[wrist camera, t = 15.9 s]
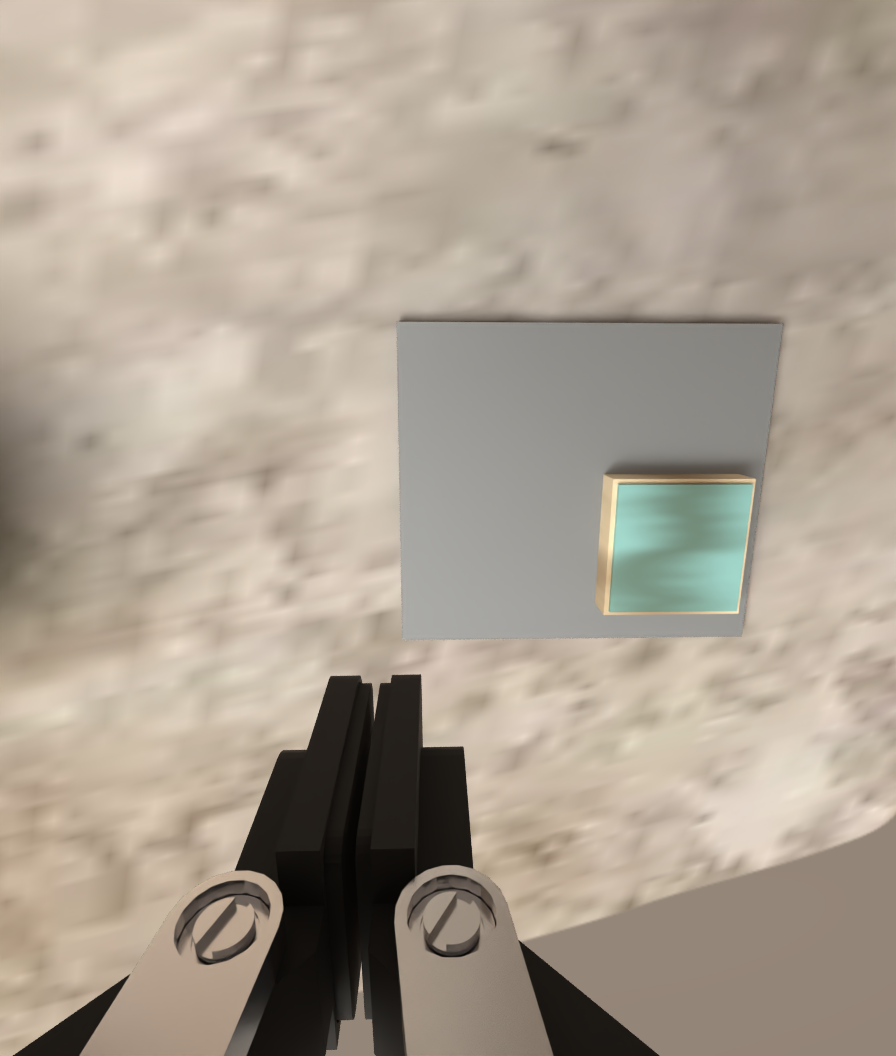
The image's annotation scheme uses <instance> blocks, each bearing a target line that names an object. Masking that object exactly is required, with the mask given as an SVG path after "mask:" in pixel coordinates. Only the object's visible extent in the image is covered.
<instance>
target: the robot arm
mask: <svg viewBox="0 0 896 1056" xmlns="http://www.w3.org/2000/svg"><path fill="white" fill-rule="evenodd" d="M361 961H362V977H363V993H364V1008H365V1018H366V1019H372V1023H373V1037H374V1038H373V1039H374V1054H375V1055H376V1056H659V1055H658V1054H657V1053H655V1052H654V1051H653V1050H652V1049H651V1048H649V1047H648V1046H647V1045H646V1044H645V1043H643V1042H642V1041H641V1040H639V1038H637V1037H636V1036H635V1035H634V1034H632V1033H631V1032H630V1031H629V1030H628V1029H626V1028H625V1027H624V1026H623V1025H621V1024H620V1023H619V1022H618V1021H617V1020H615V1019H614V1018H613V1017H612V1016H610V1015H609V1014H608V1013H607V1012H606V1011H604V1010H603V1009H602V1008H601V1007H599V1006H598V1005H597V1004H596V1003H595V1002H593V1001H592V1000H591V999H590V998H589V997H587V996H586V995H585V994H584V993H582V992H581V991H580V990H579V989H577V988H576V987H575V986H574V985H573V984H571V983H570V982H569V981H568V980H566V979H565V978H564V977H563V976H562V975H561V974H559V973H558V972H557V971H556V970H554V969H553V968H552V967H550V965H548V964H547V963H546V962H545V961H543V960H542V959H541V958H540V957H539V956H537V955H536V954H535V953H534V952H532V951H531V950H530V949H529V948H527V947H526V946H525V945H524V944H522V942H520V941H519V940H518V937H517V934H516V931H515V927H514V924H513V921H512V917H511V914H510V911H509V908H508V904H507V902H506V900H505V898H504V896H503V894H502V892H501V890H500V888H499V887H498V886H497V885H496V884H495V883H494V882H493V881H492V880H491V879H490V878H489V877H487V876H486V875H484V874H482V873H480V872H479V871H477V870H475V869H473V859H472V846H471V834H470V821H469V808H468V796H467V783H466V771H465V758H464V748H463V747H423V737H422V689H421V675H392V678H391V683H381V684H380V688H379V695H378V701H377V708H376V714H375V720H374V707H373V688H372V683H364V684H362V680H361V676H331V677H330V679H329V682H328V685H327V688H326V691H325V694H324V697H323V701H322V704H321V707H320V710H319V713H318V717H317V720H316V723H315V726H314V729H313V732H312V736H311V739H310V742H309V745H308V748H307V750H283V751H282V752H281V753H280V754H279V756H278V758H277V761H276V764H275V766H274V769H273V771H272V774H271V777H270V779H269V782H268V785H267V787H266V790H265V793H264V795H263V798H262V800H261V803H260V806H259V808H258V811H257V814H256V816H255V819H254V821H253V824H252V827H251V829H250V832H249V835H248V837H247V840H246V843H245V845H244V848H243V850H242V853H241V856H240V858H239V861H238V864H237V866H236V869H235V871H231V872H227V873H224V874H220V875H216V876H214V877H212V878H210V879H208V880H206V881H204V882H202V883H200V884H198V885H197V886H195V887H194V888H193V889H192V890H191V891H189V892H188V893H187V894H186V895H184V896H183V897H182V898H181V899H180V900H179V902H178V903H177V904H176V905H175V906H174V908H173V909H172V910H171V911H170V913H169V914H168V916H167V917H166V919H165V921H164V922H163V924H162V925H161V927H160V928H159V930H158V932H157V933H156V935H155V936H154V938H153V940H152V941H151V943H150V944H149V946H148V947H147V949H146V951H145V952H144V954H143V955H142V957H141V959H140V960H139V962H138V963H137V965H136V967H135V968H134V970H133V971H132V973H131V974H130V975H128V976H127V977H125V978H124V979H122V980H121V981H120V982H118V983H117V984H115V985H114V986H112V987H111V988H110V989H108V990H107V991H105V992H104V993H102V994H101V995H99V996H98V997H97V998H95V999H94V1000H92V1001H91V1002H89V1003H88V1004H87V1005H85V1006H84V1007H82V1008H81V1009H79V1010H78V1011H76V1012H75V1013H74V1014H72V1015H71V1016H69V1017H68V1018H66V1019H65V1020H64V1021H62V1022H61V1023H59V1024H58V1025H56V1026H55V1027H54V1028H52V1029H51V1030H49V1031H48V1032H46V1033H45V1034H43V1035H42V1036H41V1037H39V1038H38V1039H36V1040H35V1041H33V1042H32V1043H31V1044H29V1045H28V1046H26V1047H25V1048H23V1049H22V1050H20V1051H19V1052H18V1053H16V1054H15V1055H13V1056H325V1054H326V1050H336V1049H337V1045H338V1038H339V1031H340V1023H341V1020H353V1019H354V1017H355V1011H356V1004H357V995H358V986H359V978H360V969H361Z"/></svg>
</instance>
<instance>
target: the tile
mask: <svg viewBox="0 0 896 1056" xmlns="http://www.w3.org/2000/svg"><path fill="white" fill-rule="evenodd" d="M755 482H756V479H754V478H751V477H747V476H744V475H741V474H604V475H603V490H602V504H601V519H600V534H599V549H598V564H597V579H596V594H595V604H596V605H597V607H598V608H599V609H600V611H601V612H602V613H603V615H653V614H738V613H739V605H740V598H741V590H742V582H743V575H744V567H745V559H746V552H747V544H748V536H749V529H750V521H751V513H752V505H753V498H754V490H755Z"/></svg>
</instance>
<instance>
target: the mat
mask: <svg viewBox="0 0 896 1056" xmlns="http://www.w3.org/2000/svg"><path fill="white" fill-rule="evenodd" d="M782 329H783V324H724V323H543V322H397V372H398V428H399V485H400V541H401V597H402V640H465V639H556V638H646V637H737V636H742V631H743V623H744V616H745V608H746V601H747V593H748V585H749V578H750V570H751V563H752V555H753V548H754V540H755V533H756V525H757V518H758V510H759V502H760V495H761V487H762V480H763V472H764V465H765V457H766V450H767V442H768V435H769V427H770V419H771V412H772V404H773V397H774V389H775V382H776V374H777V367H778V359H779V351H780V344H781V336H782ZM604 474H741V475H744V476H747V477H751V478H754V479H756V482H755V490H754V498H753V505H752V513H751V521H750V529H749V536H748V544H747V552H746V559H745V567H744V575H743V582H742V590H741V598H740V605H739V613H738V614H653V615H603V613H602V612H601V611H600V609H599V608H598V607H597V605H596V604H595V594H596V579H597V564H598V549H599V534H600V519H601V504H602V490H603V475H604Z"/></svg>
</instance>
